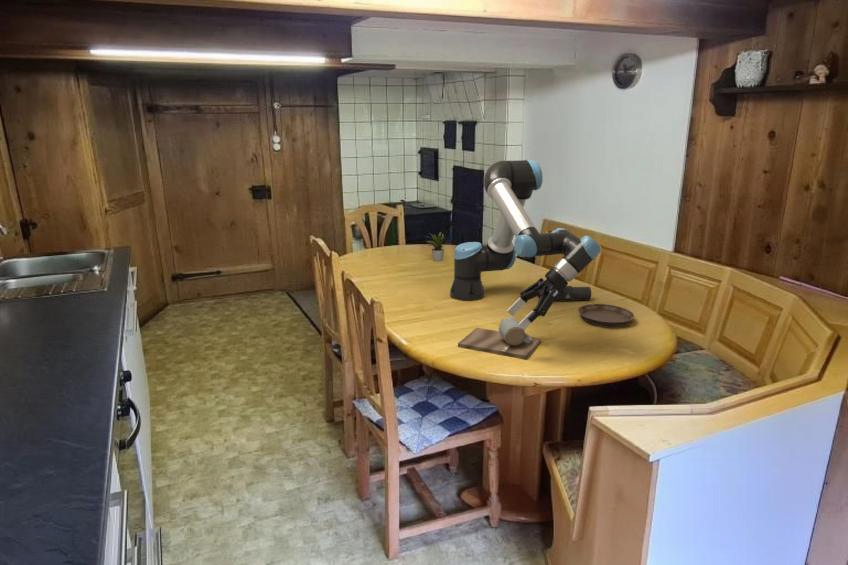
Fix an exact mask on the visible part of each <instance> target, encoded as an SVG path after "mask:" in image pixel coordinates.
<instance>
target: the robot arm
mask: <svg viewBox="0 0 848 565" xmlns="http://www.w3.org/2000/svg"><path fill="white" fill-rule="evenodd" d="M542 184H543V171H542V167H541V166H540V164H539V163H538V162H537V161H536V160H533V159H523V160H498V161H496V162H494V163H492V164H491V165H490V166H489V167H488V169H487V170H486V172H485V173H484V177H483V187H484V190H485V192H486V194H487V196H488V198H491V199H492V200H493V202H495V204H496V206H497V208H498V210H499V213H498V214H499V215H498V217H497V222H496V224H495V227H494V231H493V233H492V235H491V236H490V237H489V238H488V239H487V242H486V244H483V245H482V243H481V242H479V241H470V242H469V241H467V242H463V243H459V244H458V245H457V246H456V247H455V249H454V255H453V259H454V260H453V261H454V264H453V265H454V267H453V274H454V279H453V282H452V284H451V286H450V291H449V295H450V298H453V299H455V300H458V301H478V300H482V299H483V298H485V289H484V286H483V282H482V279H481V278H482V273H483V272H484V273H485V272H493V271H494V272H496V271H498V272H499V271H505V270H509V269H511V268H512V267H513V266H514V264H515V262H516V260H517V259H516V258H517V256H518V257H521V258H532V257H543V256H554V255H555V256H556V255H563V256H562V257H561V258H560V259H559V260H558V261H557V262H556V263H555V264H554V265H553V267H552V268H550V269H549V271H547V272H546V273H545V274H544V277H545V280H544V279H543V278H542V277H541V278H539V279H538V280H537V281H536V282H534V283H533V284H531V285H530V286H528V287H527V288H525V289H524V290H522V291H520V292H519V297H518V299H517V300H516V301H515V302H514V303H513V304H512V305H510V307H509V308H508V309H507V310H506V312H508V313H509V315H511V317H513V316H514V315H515V314H516V313H517V312H518V311H519V310H520V309H521V308H522V307H524V305H525V304H527V302H528V301H529V300H531V299H534V298H536V297H537V296H538V295H539V296H541V297H540V299H539V298H538V302H537V304H536V306H535V307H534V308H533V309H532V310H531V311H530V312H529V313H528V314H527V315H526V316H525V317H524V318H523V319H522V320H521V321H519V324H518V325H519V326H520V327H521V328H522V329H524V331H525V330H526V329H527V328H528V327H529V326H531V324H533V322H534V321H535V320H536V319H537V318H538V317H542V318H543V317H545V316H546V314H547V313H548V311H549V310H550V308H551V306H552V305H553V303H554V302H555V301H554V300H555V299H556V298H557V297H558V295H559V294H560V293H559V292H558V291H557V289H558V290H560V291H561V290H563V289H564V288H565V287H566V286H569V285H568V284H569V283H568V282H572V281H573V280H574V279H575V278H577V276H578V275H579V274H580V273H581V272H582V271H583V270H585V268H587V266H588V265H589V264H591V262H592V261H594V260H595V259H596V257H597V256H598V255H599V254H600V253H601V251H602V248H601V246H600V244H599V243H598V242H597V241H596V240H595V239H594V238H593V237H591V236H589V235H587V234H586V235H584V236H582V237H581V238H579V237H578V236H577V235H575V234H574V233H573V232H571V231H570V230H568V229H565V228H563V227H558V228H555V229H553V230H552V231H551V232H546V233H540V232H539V230H538V229H537V228H536V226H535V224H534V223H533V221H532V220H531V218H530V216H529V214H528V213H527V211H526V210H525V208H524V206H525V203H526V201H527V200H529V199H531V197H532V195H533V192H534V191H537V190H539V189H541V187H542ZM514 236H515V239H514ZM513 240H514V244H513ZM516 255H517V256H516Z"/></svg>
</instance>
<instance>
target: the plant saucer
mask: <svg viewBox="0 0 848 565" xmlns="http://www.w3.org/2000/svg"><path fill="white" fill-rule="evenodd" d="M577 311H578V312H577V313H578V314H579V316H580V317H581V318H582V319H583V320H584V321H585V322H587V323H589V324H591V325H593V326H599V327H605V328H617V327H623V326H626V325H627V324H629V323H631V322H632V321H633V319H634V318H635V314H634V313H633V312H632V311H631V310H629V309H627V308H625V307H621V306H617V305H613V304H604V303H592V304H591V303H588V304H584V305H582V306H579V308H577Z"/></svg>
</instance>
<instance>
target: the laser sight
mask: <svg viewBox="0 0 848 565" xmlns="http://www.w3.org/2000/svg"><path fill="white" fill-rule="evenodd" d="M557 291H558V292H559V293H560V294H559V295H558V297H557V298H556V299H555V300H554V302H573V301H581V300H582V301H583V300H584V301H585V300H586V301H588V300H591V299H592V289H591V287H590V286H573V285H567V286H566V287H565V288H564V289H563V290H561V291H560V290H558V289H557ZM536 297H537V298H538V300H539V299H540V297H541V296H539V295H538V296H536Z"/></svg>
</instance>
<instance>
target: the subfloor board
mask: <svg viewBox="0 0 848 565" xmlns="http://www.w3.org/2000/svg"><path fill="white" fill-rule="evenodd" d="M530 337H531V338H532V341H531V343H526V342H522V343H521V344H519V345H516V346H512V345H510V344H508V343H507V342H506V341H505V340H504V338H503V337H502V336H501V334H500V332H499V330H493V329H487V328H480V327H476V328H475V329H474V330H472V331H471V332H470V333H468V334H467V335H466V336H464V338H462V339H461V340H460V341H459V342H457V347H459V348H462V349H468V350H469V349H470V350H474V351H479V352H485V353H491V354H494V355H495V354H496V355H501V356H506V357H512V358H517V359H521V360H527V359H528V358H529V357H530V356H531V354H533V352H534V351H535V350H536V348H537V347H538V346H539V345H540V343H541V341H542V339H541V338H540V337H534V336H530Z"/></svg>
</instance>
